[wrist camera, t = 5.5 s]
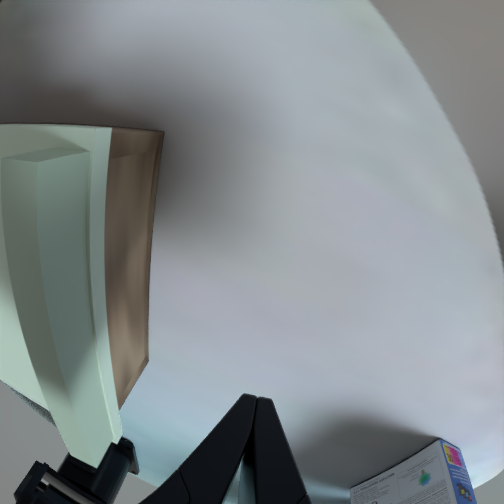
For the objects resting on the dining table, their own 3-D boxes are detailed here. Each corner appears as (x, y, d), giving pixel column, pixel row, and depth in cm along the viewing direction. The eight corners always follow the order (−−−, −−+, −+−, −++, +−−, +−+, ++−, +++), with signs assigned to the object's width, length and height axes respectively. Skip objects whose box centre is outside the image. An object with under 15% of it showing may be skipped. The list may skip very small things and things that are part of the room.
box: (148, 361, 17) (113, 420, 13) (-15, 288, 18) (-55, 317, 14) (164, 131, 12) (98, 136, 8) (-28, 124, 13) (-82, 135, 9)
